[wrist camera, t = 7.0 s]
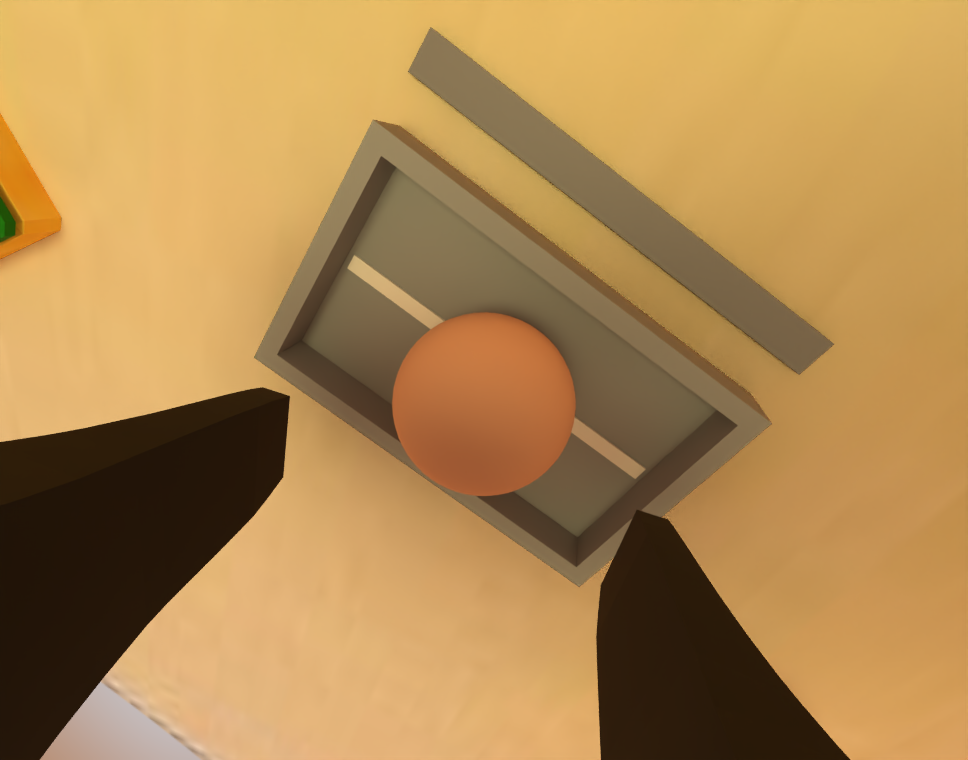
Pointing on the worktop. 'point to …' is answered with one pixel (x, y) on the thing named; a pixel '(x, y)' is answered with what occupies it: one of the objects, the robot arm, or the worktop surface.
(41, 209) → the dish sponge
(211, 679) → the worktop surface
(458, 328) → the ball
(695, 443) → the tray
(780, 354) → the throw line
